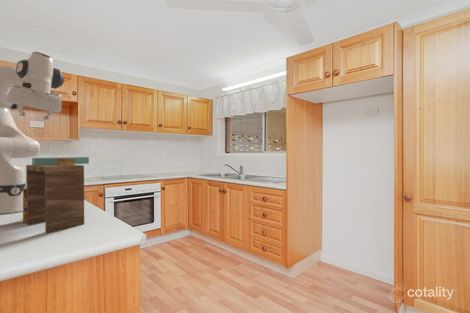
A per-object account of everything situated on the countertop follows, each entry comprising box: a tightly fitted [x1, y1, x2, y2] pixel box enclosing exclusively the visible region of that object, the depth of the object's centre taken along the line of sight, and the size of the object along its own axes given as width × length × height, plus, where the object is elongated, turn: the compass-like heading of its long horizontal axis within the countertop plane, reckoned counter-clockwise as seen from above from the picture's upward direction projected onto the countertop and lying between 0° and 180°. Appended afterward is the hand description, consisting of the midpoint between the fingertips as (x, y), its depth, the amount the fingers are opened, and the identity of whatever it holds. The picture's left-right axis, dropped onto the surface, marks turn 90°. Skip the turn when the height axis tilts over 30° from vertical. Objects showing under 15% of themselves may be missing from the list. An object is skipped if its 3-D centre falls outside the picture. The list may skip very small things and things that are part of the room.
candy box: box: [22, 188, 27, 223], centre depth 115 cm, size 9×4×15 cm, turn 123°
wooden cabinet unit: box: [25, 157, 85, 233], centre depth 109 cm, size 20×14×29 cm
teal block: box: [31, 156, 90, 166], centre depth 115 cm, size 3×22×3 cm, turn 148°
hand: (34, 118), depth 114 cm, fingers open, 8 cm apart
